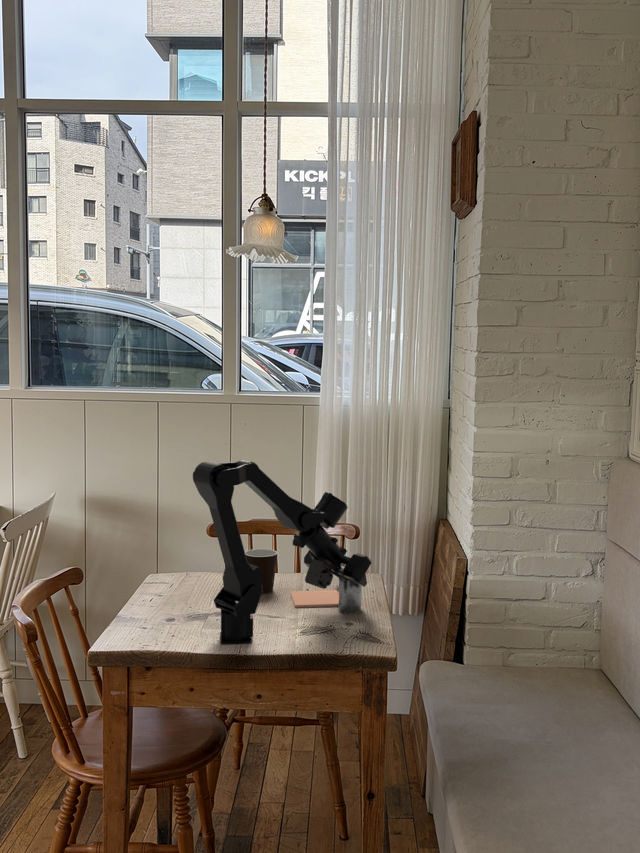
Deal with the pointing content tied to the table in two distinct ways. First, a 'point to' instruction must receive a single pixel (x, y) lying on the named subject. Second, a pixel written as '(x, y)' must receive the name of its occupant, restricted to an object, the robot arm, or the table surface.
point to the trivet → (315, 598)
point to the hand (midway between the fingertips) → (354, 581)
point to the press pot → (349, 594)
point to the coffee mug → (264, 566)
